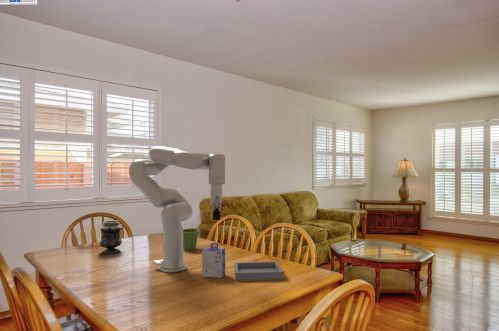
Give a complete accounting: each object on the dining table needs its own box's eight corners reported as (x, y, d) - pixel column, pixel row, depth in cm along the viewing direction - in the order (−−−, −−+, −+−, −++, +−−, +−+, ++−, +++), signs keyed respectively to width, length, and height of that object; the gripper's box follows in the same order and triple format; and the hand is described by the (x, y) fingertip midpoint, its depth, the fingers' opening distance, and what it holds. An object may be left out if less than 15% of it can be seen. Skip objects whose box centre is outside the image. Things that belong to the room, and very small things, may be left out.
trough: (235, 281, 145) (235, 273, 145) (234, 269, 161) (234, 262, 161) (283, 279, 147) (283, 271, 147) (277, 268, 163) (277, 261, 163)
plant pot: (189, 245, 209) (189, 227, 209) (203, 248, 202) (203, 229, 202) (175, 249, 200) (175, 230, 200) (189, 252, 193) (189, 233, 193)
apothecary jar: (126, 251, 196) (126, 220, 196) (108, 256, 186) (108, 223, 186) (113, 248, 203) (113, 218, 203) (95, 253, 193) (95, 221, 193)
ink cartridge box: (226, 274, 154) (225, 243, 154) (222, 278, 149) (222, 246, 149) (205, 273, 156) (205, 242, 156) (201, 277, 151) (201, 245, 151)
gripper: (208, 179, 161) (208, 215, 162) (208, 181, 144) (207, 221, 144) (224, 179, 162) (223, 215, 162) (225, 182, 145) (225, 221, 145)
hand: (216, 218), depth 153 cm, fingers open, 9 cm apart
